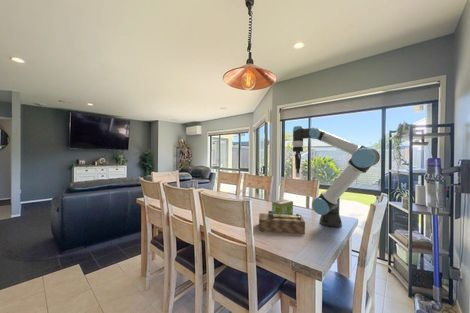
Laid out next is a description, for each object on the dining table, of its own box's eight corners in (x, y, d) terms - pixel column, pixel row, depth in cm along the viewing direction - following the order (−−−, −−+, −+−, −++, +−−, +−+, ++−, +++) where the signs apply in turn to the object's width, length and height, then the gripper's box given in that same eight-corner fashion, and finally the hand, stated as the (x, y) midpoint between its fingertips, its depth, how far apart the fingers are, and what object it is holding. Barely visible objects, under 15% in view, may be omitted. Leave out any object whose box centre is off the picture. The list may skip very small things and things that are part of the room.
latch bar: (298, 216, 146) (298, 214, 146) (299, 218, 142) (300, 216, 142) (269, 214, 149) (269, 212, 149) (269, 216, 145) (269, 214, 145)
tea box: (281, 223, 156) (282, 203, 156) (271, 220, 164) (271, 201, 164) (293, 219, 166) (293, 200, 166) (282, 216, 174) (282, 198, 174)
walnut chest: (301, 225, 151) (301, 210, 151) (305, 233, 137) (305, 217, 137) (259, 223, 155) (259, 209, 154) (259, 231, 141) (259, 215, 140)
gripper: (291, 146, 167) (291, 176, 167) (294, 146, 154) (293, 178, 154) (301, 146, 166) (301, 176, 166) (304, 146, 153) (304, 178, 153)
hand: (297, 177), depth 160 cm, fingers closed
